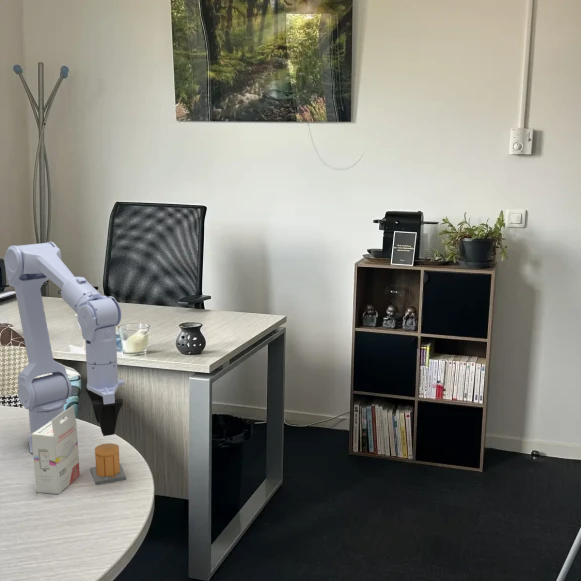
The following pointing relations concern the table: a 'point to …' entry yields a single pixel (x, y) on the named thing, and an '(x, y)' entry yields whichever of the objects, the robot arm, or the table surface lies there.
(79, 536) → the table surface
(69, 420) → the ink cartridge box
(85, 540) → the table surface
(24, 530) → the table surface
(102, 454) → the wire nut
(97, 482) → the plate
